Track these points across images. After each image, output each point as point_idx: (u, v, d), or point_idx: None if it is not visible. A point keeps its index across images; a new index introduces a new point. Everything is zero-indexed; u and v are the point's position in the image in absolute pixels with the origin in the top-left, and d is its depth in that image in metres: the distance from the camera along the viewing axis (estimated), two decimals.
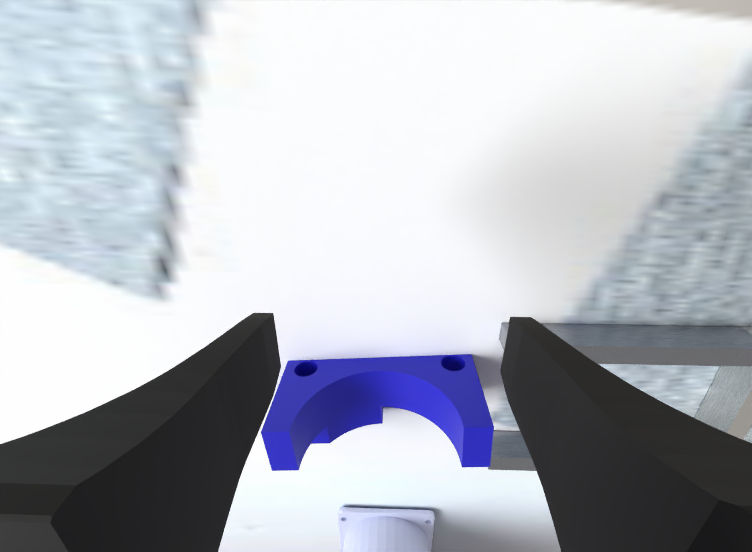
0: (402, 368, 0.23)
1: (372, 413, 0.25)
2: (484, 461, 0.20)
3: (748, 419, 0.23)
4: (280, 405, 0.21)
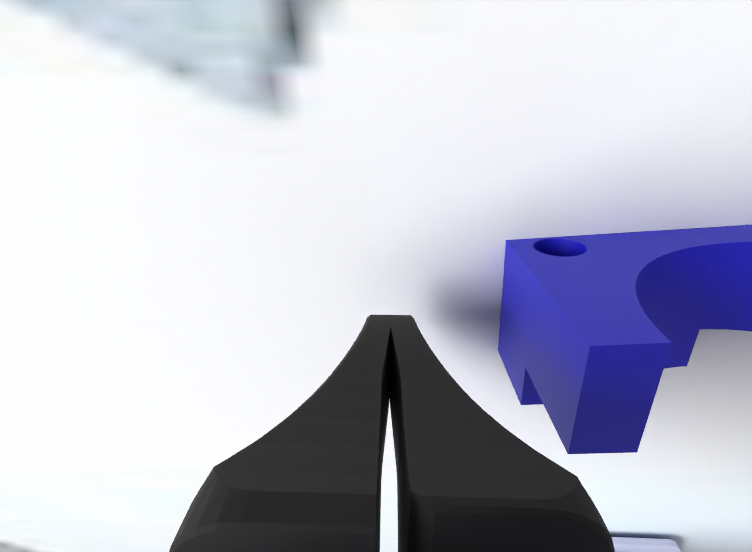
0: None
1: (677, 344, 0.12)
2: None
3: None
4: (575, 297, 0.09)
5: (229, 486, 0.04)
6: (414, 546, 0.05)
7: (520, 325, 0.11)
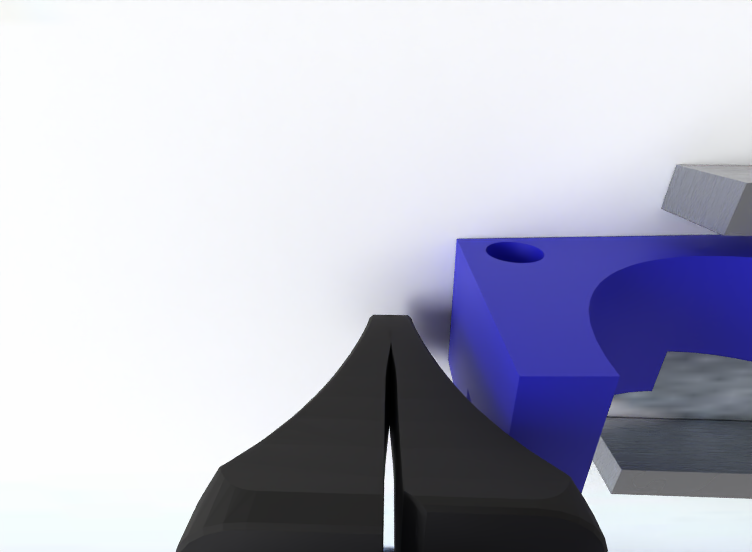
0: None
1: (642, 366, 0.11)
2: None
3: None
4: (518, 312, 0.07)
5: (236, 486, 0.04)
6: (408, 546, 0.05)
7: (465, 339, 0.10)
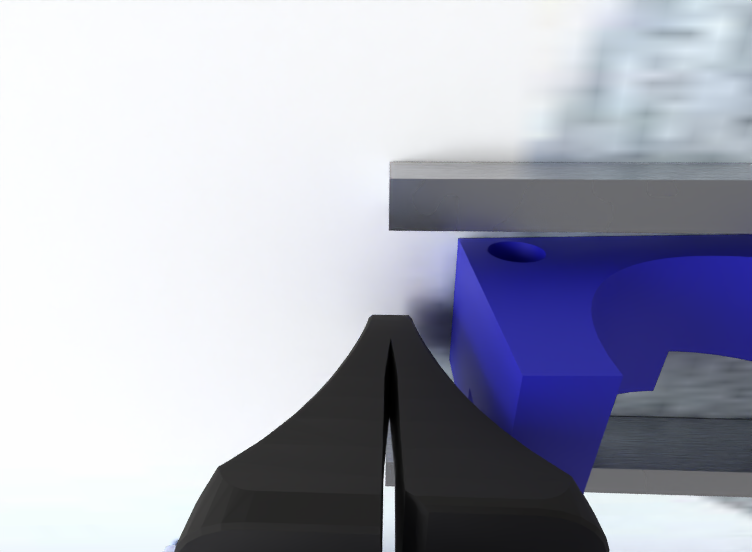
0: None
1: (643, 366, 0.11)
2: None
3: None
4: (520, 312, 0.07)
5: (234, 486, 0.04)
6: (409, 546, 0.05)
7: (467, 339, 0.10)
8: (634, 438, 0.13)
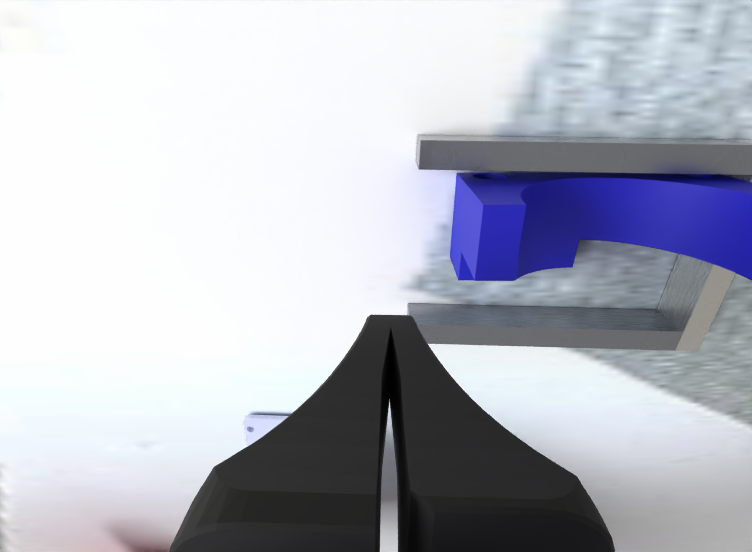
0: (626, 176, 0.17)
1: (565, 249, 0.19)
2: None
3: None
4: (486, 192, 0.15)
5: (229, 486, 0.04)
6: (414, 546, 0.05)
7: (460, 225, 0.17)
8: (566, 316, 0.21)
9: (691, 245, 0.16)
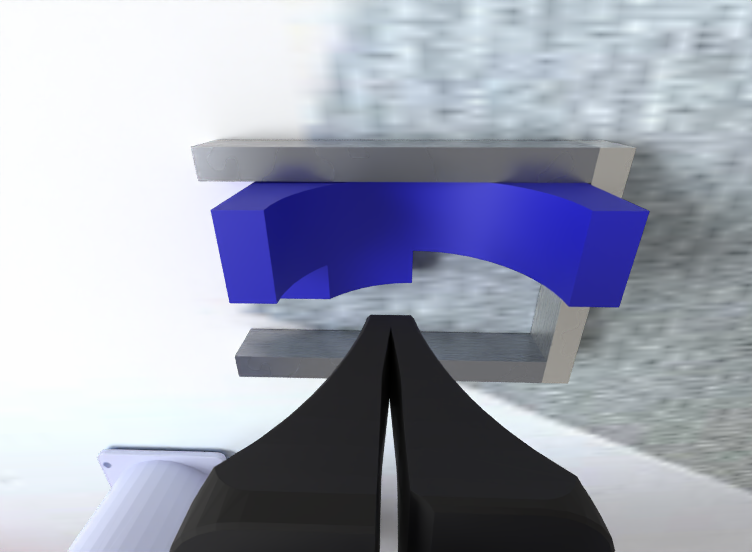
0: None
1: (398, 262, 0.16)
2: (612, 294, 0.11)
3: None
4: (251, 194, 0.12)
5: (229, 486, 0.04)
6: (414, 546, 0.05)
7: None
8: None
9: (521, 259, 0.13)
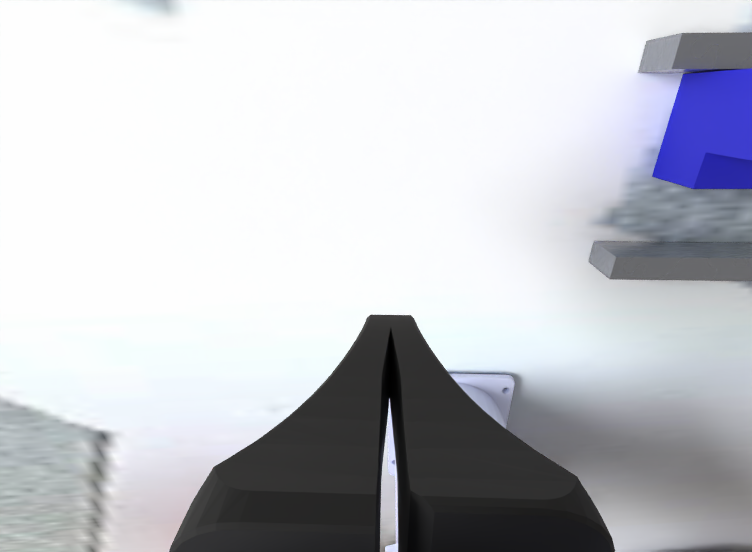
0: None
1: None
2: None
3: None
4: None
5: (230, 486, 0.04)
6: (415, 546, 0.05)
7: (702, 124, 0.16)
8: None
9: None
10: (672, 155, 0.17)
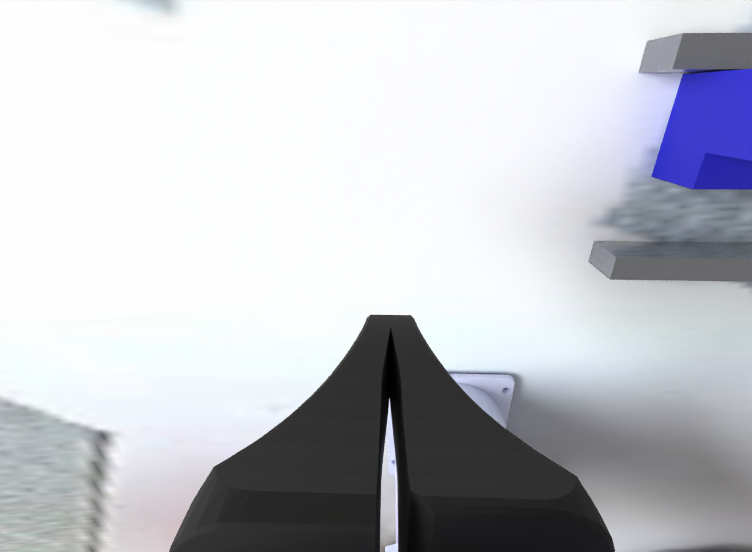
0: None
1: None
2: None
3: None
4: None
5: (229, 486, 0.04)
6: (414, 546, 0.05)
7: (701, 125, 0.16)
8: None
9: None
10: (672, 155, 0.17)
